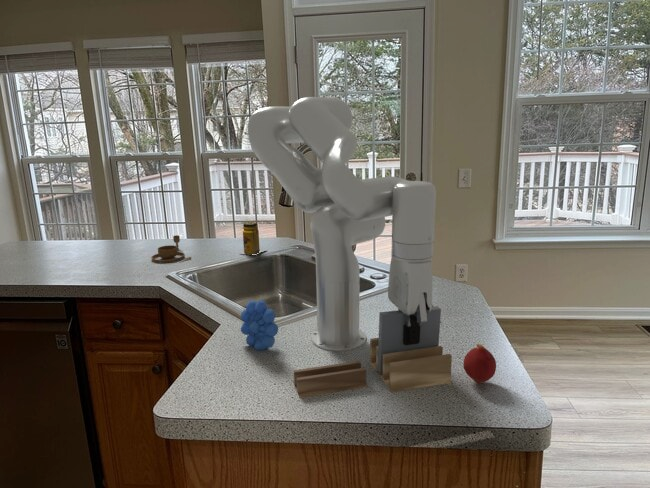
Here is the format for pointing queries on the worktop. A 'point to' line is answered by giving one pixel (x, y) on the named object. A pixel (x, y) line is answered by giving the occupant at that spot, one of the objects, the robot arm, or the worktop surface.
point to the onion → (479, 364)
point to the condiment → (250, 238)
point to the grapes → (259, 325)
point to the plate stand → (329, 379)
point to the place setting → (169, 253)
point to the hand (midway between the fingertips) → (408, 340)
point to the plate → (393, 333)
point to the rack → (412, 367)
